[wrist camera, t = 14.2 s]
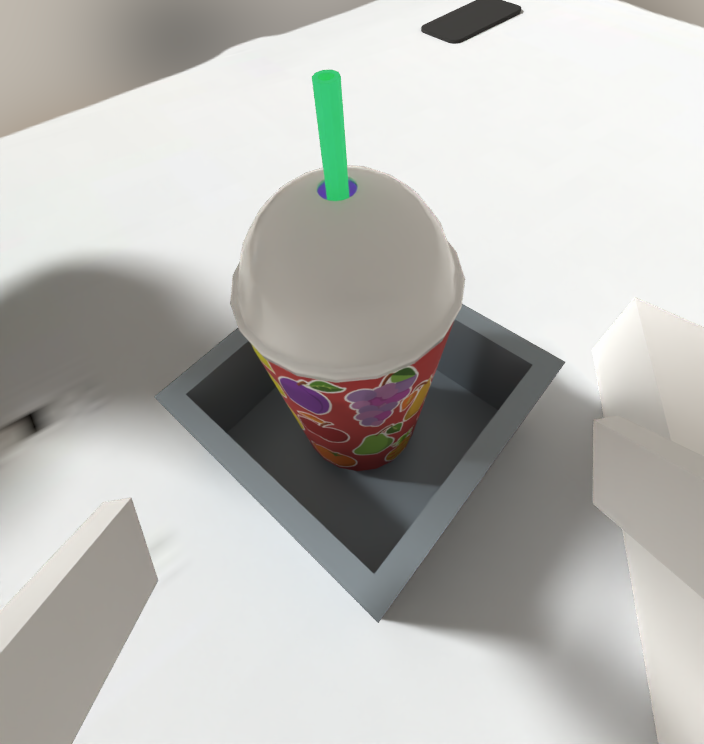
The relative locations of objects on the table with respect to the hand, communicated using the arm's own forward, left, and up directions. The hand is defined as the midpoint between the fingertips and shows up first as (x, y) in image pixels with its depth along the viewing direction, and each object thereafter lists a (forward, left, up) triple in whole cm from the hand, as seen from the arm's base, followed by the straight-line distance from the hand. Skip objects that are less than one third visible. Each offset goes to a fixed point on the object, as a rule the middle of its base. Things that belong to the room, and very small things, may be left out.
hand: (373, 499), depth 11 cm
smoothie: (-6, +5, -13) cm, 15 cm away
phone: (-36, +65, -14) cm, 76 cm away
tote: (-6, +5, -14) cm, 16 cm away
